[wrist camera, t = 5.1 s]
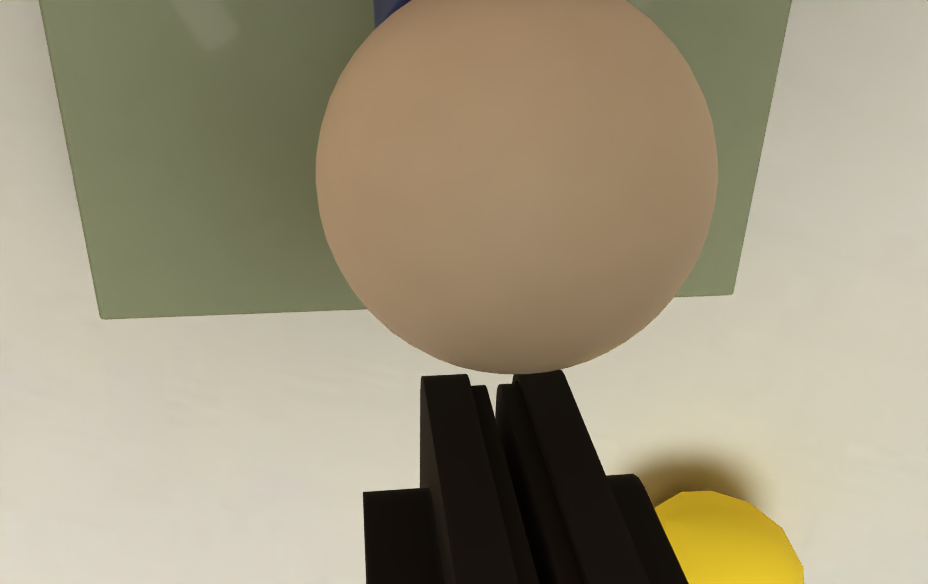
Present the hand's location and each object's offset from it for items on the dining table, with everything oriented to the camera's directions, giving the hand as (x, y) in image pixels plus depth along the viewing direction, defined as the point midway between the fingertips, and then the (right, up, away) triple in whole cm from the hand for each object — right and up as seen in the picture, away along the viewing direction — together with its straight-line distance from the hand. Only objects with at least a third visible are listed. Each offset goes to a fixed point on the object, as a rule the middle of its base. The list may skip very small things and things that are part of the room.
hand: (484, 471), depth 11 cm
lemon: (+8, -6, +20) cm, 23 cm away
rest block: (-2, +8, +10) cm, 13 cm away
